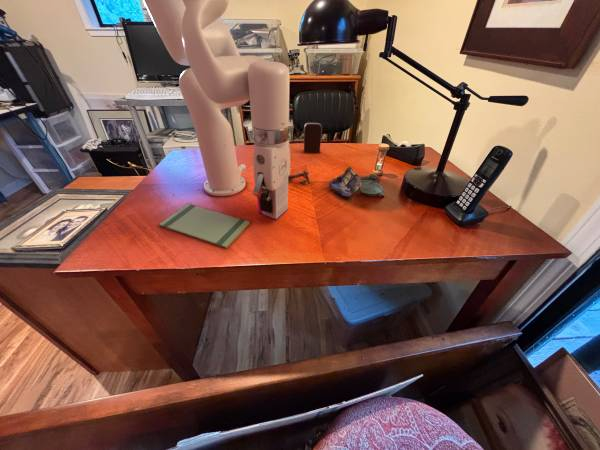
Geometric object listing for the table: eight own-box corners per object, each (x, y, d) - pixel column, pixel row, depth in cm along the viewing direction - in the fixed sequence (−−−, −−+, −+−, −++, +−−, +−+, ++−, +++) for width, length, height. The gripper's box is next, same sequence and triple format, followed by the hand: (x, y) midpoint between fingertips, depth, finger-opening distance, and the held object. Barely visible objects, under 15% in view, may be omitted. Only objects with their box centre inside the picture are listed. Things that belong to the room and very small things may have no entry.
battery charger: (319, 149, 100) (321, 121, 93) (320, 153, 97) (322, 124, 90) (303, 149, 100) (303, 121, 93) (303, 153, 97) (304, 124, 90)
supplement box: (288, 209, 64) (289, 170, 56) (275, 221, 60) (274, 181, 53) (271, 202, 66) (269, 164, 59) (257, 213, 62) (254, 173, 55)
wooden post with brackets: (311, 184, 75) (306, 171, 73) (290, 188, 80) (285, 176, 78) (313, 181, 77) (309, 168, 75) (293, 185, 81) (288, 173, 79)
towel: (188, 205, 67) (187, 203, 66) (250, 223, 61) (249, 221, 61) (159, 226, 60) (158, 223, 59) (226, 248, 54) (225, 246, 53)
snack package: (374, 196, 73) (356, 177, 81) (376, 178, 68) (357, 160, 77) (338, 207, 71) (323, 187, 79) (337, 190, 67) (322, 170, 75)
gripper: (266, 152, 43) (270, 228, 54) (302, 124, 55) (299, 191, 67) (231, 144, 45) (242, 219, 56) (273, 119, 57) (275, 184, 69)
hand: (273, 203), depth 61 cm, fingers closed on supplement box, 6 cm apart
